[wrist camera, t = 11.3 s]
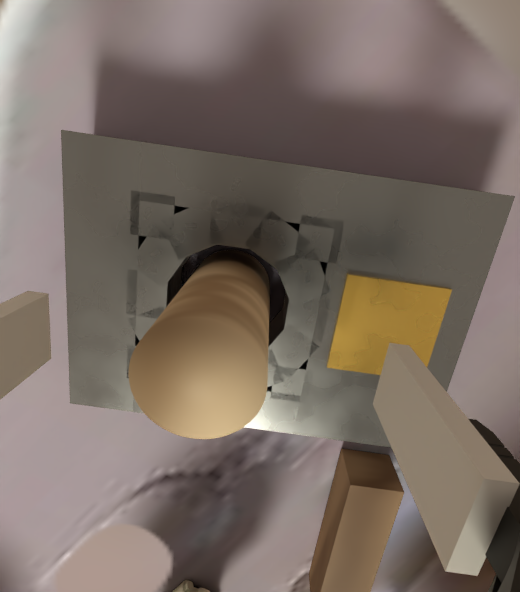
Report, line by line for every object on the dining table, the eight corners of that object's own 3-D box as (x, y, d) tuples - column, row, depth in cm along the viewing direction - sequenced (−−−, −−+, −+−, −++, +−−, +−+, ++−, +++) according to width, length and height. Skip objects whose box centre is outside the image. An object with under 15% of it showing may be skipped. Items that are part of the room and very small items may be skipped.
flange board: (478, 193, 19) (517, 196, 16) (406, 418, 23) (426, 454, 20) (93, 136, 19) (58, 129, 16) (95, 375, 23) (68, 405, 20)
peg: (277, 259, 20) (282, 333, 11) (260, 329, 22) (251, 450, 12) (200, 241, 20) (136, 302, 11) (188, 313, 22) (122, 424, 12)
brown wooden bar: (388, 455, 24) (404, 492, 21) (350, 579, 28) (358, 625, 25) (341, 448, 24) (350, 484, 21) (308, 574, 28) (312, 619, 25)
